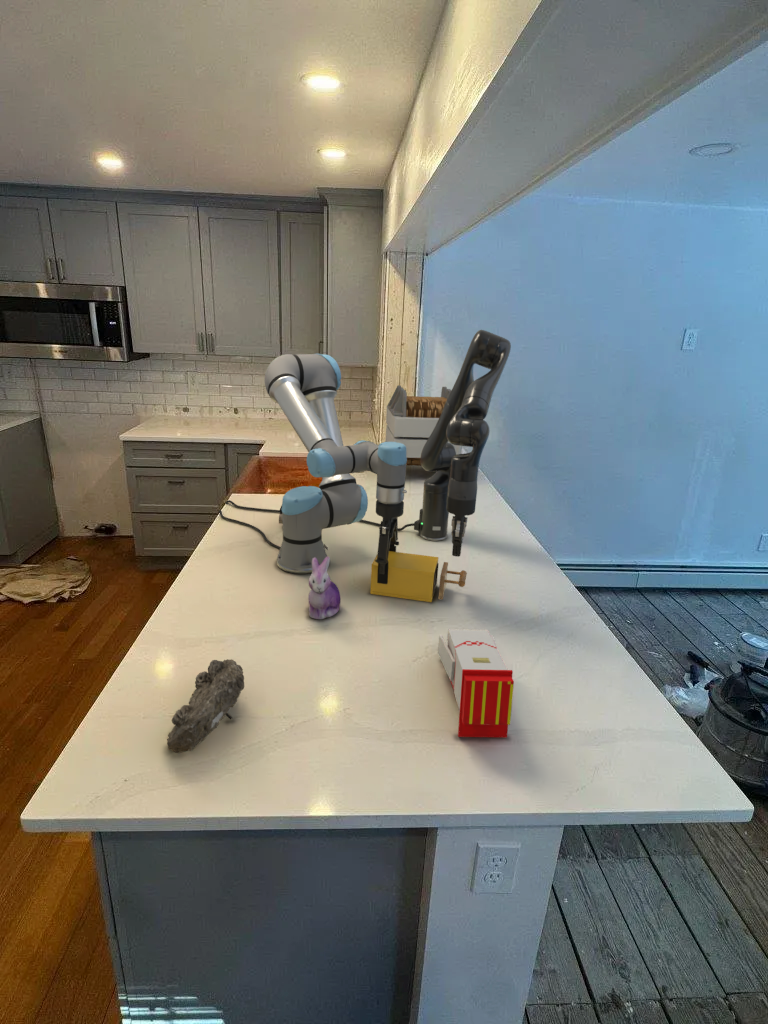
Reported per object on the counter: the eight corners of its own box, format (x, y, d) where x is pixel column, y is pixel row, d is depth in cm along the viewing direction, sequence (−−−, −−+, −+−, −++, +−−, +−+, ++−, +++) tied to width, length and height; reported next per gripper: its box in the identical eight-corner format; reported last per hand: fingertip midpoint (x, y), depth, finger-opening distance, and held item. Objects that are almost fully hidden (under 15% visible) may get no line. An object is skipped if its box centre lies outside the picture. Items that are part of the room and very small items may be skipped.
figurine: (313, 624, 141) (313, 569, 135) (299, 605, 149) (299, 553, 144) (348, 616, 145) (349, 563, 140) (333, 598, 153) (333, 547, 148)
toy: (488, 613, 130) (523, 677, 101) (484, 667, 133) (517, 744, 104) (435, 612, 130) (455, 676, 101) (432, 666, 133) (451, 743, 103)
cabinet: (436, 585, 164) (438, 557, 161) (431, 602, 154) (434, 572, 151) (378, 577, 167) (379, 549, 164) (370, 593, 157) (371, 564, 154)
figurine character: (297, 533, 199) (302, 514, 212) (296, 514, 196) (301, 496, 209) (278, 533, 199) (284, 514, 212) (277, 514, 195) (283, 495, 209)
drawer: (465, 587, 161) (467, 564, 159) (463, 602, 153) (465, 578, 150) (391, 577, 165) (392, 555, 163) (385, 591, 157) (386, 568, 154)
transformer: (382, 463, 289) (386, 382, 275) (445, 464, 293) (451, 384, 279) (390, 482, 257) (394, 392, 243) (460, 483, 261) (468, 394, 247)
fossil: (192, 660, 117) (244, 628, 112) (224, 691, 120) (276, 661, 115) (142, 746, 98) (202, 712, 93) (182, 779, 101) (242, 748, 96)
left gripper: (395, 515, 141) (391, 594, 149) (410, 489, 162) (406, 559, 170) (366, 512, 143) (363, 591, 150) (385, 486, 164) (381, 556, 171)
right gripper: (475, 504, 141) (468, 567, 147) (477, 488, 153) (471, 547, 159) (445, 500, 142) (439, 563, 148) (450, 486, 155) (445, 544, 160)
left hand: (386, 574), depth 160 cm, fingers closed on cabinet, 10 cm apart
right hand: (456, 555), depth 154 cm, fingers closed
